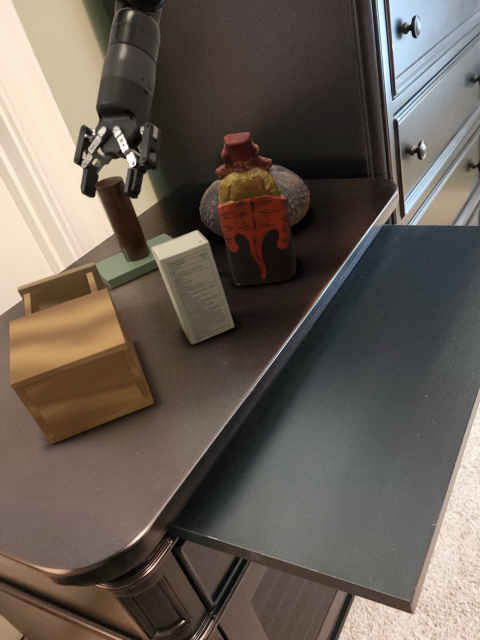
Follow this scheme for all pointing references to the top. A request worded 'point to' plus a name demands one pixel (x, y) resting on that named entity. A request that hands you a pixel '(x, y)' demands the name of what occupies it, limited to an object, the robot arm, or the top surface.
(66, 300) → the drawer
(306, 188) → the sea urchin shell
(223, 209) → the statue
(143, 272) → the board
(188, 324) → the cosmetic box
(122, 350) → the cabinet
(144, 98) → the robot arm
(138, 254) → the brown wooden cylinder
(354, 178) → the top surface
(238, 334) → the top surface
